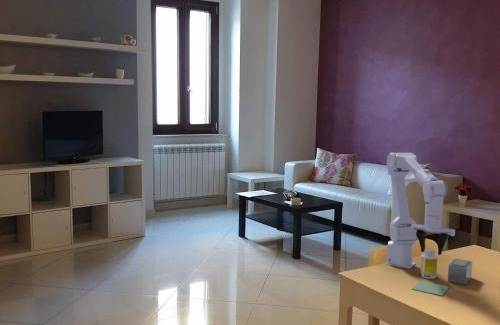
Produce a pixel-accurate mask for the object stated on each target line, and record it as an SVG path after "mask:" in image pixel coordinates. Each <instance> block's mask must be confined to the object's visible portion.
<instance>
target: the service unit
mask: <svg viewBox="0 0 500 325" xmlns="http://www.w3.org/2000/svg"><path fill="white" fill-rule="evenodd" d="M472 272H473V261H471V260H466V259H460V258H454V259H453V260H452V261H451V262H450V263H449V264H448V273H447V282H449V283H452V282H453V283H452V284H458V285H463V286H466V285H467V284H468V283H469V282H470V280H471V279H472Z"/></svg>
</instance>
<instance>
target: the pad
mask: <svg viewBox="0 0 500 325" xmlns="http://www.w3.org/2000/svg"><path fill="white" fill-rule="evenodd" d="M449 289H450V286H447V285H443V284H436V283H432V282H427V281H423V280H420V281H418V282H417V283H416V284H415V285H414V286H413V287H412V288H411V290H414V291H418V292H422V293H426V294H431V295H436V296H441V297H443V296H444V295H445V294H446V293H447V291H448V290H449Z"/></svg>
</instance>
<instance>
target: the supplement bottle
mask: <svg viewBox="0 0 500 325" xmlns="http://www.w3.org/2000/svg"><path fill="white" fill-rule="evenodd" d="M437 270H438V255H437V254H436V249H434V248H432V247H425V251H424V252H422V254H421V258H420V269H419V271H420V272H419V275H420V277H421V278H424V279H427V280H432V279H436V278H437Z"/></svg>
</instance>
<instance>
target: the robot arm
mask: <svg viewBox="0 0 500 325" xmlns="http://www.w3.org/2000/svg"><path fill="white" fill-rule="evenodd" d="M417 159H418V158H417V155H415V153H414V152H390V153H389V154H388V155H387V158H386V168H387V175H389V176H390V182H391V186H392V189H391V190H392V195H393V204H394V212H395V213H394V214H395V218H394V219H393V220H392V221H391V222H390V223H389V227H390V228H389V238H390V240H389V241H388V243H387V246H386V262H385V265H389V266H393V267H399V268H403V269H409V270H410V269H412V267H414V266H415V265H416V262H413V258H414V255H413V254H414V244H416V242H417V241H418V242H419V246H420V251H421V253H424V251H425V248H426V237H427V233H433V234H439V235H438V248H437V249H438V251H437V254H438V255H437V256H441V255H442V253H443V249H444V246H445V244H446V242H447V240H448V238H449V236H451V237H454V236H456V235H455V234H456V229H452V228H448V227H442V225H443V209H444V198H445V197H446V196H447V194H448V191H449V190H448V184H447V183H446V182H445V180H440V179H437V177H436V176H435V175H433V173H432V172H431V171H430V170H429V169H427V168H423V167H422V166H421V165H420V163H419V162H418V160H417ZM410 173H411V174H413V175H414V179H415V182H417V184H419V186H420V187H421V188H422V194H423V200H424V202H425V206H424V207H425V209H424V223H423V224H417V222H416V221H415V220H414V219H413V218H412V217H410V210H409V204H408V195H407V188H406V187H407V186H406V180H405V179H406V176H408V175H409V174H410Z"/></svg>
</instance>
